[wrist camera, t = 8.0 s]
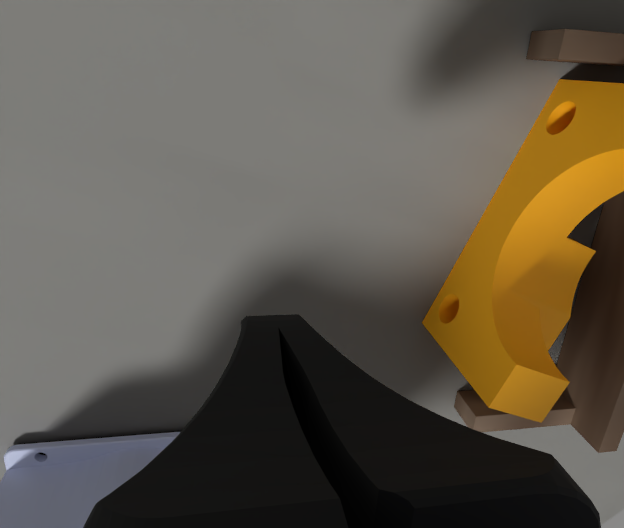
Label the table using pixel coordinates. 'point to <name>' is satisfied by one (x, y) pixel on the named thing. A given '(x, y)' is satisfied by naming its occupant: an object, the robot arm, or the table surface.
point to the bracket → (582, 296)
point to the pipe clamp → (532, 252)
